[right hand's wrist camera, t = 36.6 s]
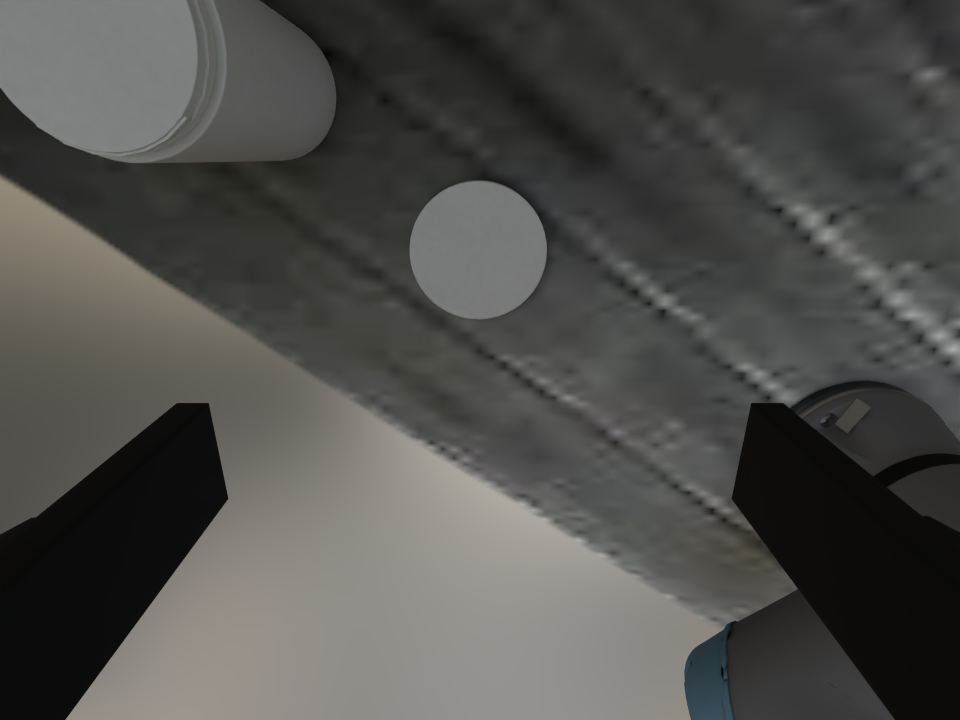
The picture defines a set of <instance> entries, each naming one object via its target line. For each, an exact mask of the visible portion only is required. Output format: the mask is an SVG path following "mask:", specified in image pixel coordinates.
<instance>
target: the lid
mask: <svg viewBox="0 0 960 720" xmlns="http://www.w3.org/2000/svg"><path fill="white" fill-rule="evenodd" d="M546 257H547V243H546V237H545V232H544V229H543V226H542V223H541V221H540V219H539V217H538V215H537V214H536V212H535V211H534V209H533V208H532V207H531V205H530V204H529V203H528V202H527V201H526V200H525V199H524V198H523V197H522V196H520V195H519V194H518V193H517V192H515V191H514V190H512V189H511V188H508V187H506V186H504V185H502V184H499V183H496V182H492V181H486V180H471V181H465V182H461V183H457V184H455V185H452V186H450V187H448V188H446V189H445V190H443V191H441V192H440V193H439V194H437V195H436V196H435V197H434V198H432V199H431V200H430V202H429V203H428V204H427V205H426V206H425V207H424V209H423V210H422V211H421V213H420V214H419V216H418V218H417V220H416V222H415V225H414V227H413V230H412V234H411V239H410V260H411V266H412V269H413V273H414V275H415V278H416V280H417V282H418V284H419V286H420V287H421V289H422V290H423V292H424V293H425V294H426V295H427V297H428V298H429V299H430V300H431V301H432V302H434V303H435V304H436V305H437V306H439V307H440V308H442V309H443V310H445V311H447V312H449V313H451V314H454V315H456V316H460V317H463V318H469V319H488V318H493V317H497V316H500V315H503V314H506V313H508V312H510V311H512V310H513V309H515V308H516V307H518V306H519V305H521V304H522V303H523V302H524V301H525V300H526V299H527V298H528V297H529V296H530V295H531V294H532V293H533V291H534V290H535V288H536V287H537V285H538V283H539V281H540V279H541V277H542V274H543V271H544V268H545V263H546Z"/></svg>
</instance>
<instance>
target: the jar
mask: <svg viewBox="0 0 960 720" xmlns="http://www.w3.org/2000/svg"><path fill="white" fill-rule="evenodd" d="M0 88H1V89H2V90H3V92H4V93H5V94H6V95H7V97H8V98H9V99H10V100H11V101H12V103H13V104H14V105H15V106H16V107H17V108H18V109H19V110H20V111H21V112H22V113H23V114H25V115H26V116H27V117H28V118H29V119H30V120H31V121H33V122H34V123H35V124H36V126H37V127H39V128H40V129H42V130H44V131H45V132H47V133H48V134H50V135H52V136H53V137H55V138H56V139H58V140H60V141H61V142H63V144H66V145H69V146H72V147H75V148H78V149H80V150H83V151H86V152H89V153H92V154H96V155H99V156H101V157H105V158H108V159H112V160H115V161H121V162H128V163H179V162H239V161H285V160H292V159H296V158H299V157H302V156H304V155H306V154H308V153H309V152H311V151H312V150H314V149H315V148H316V147H317V146H318V145H319V144H320V143H321V142H322V141H323V139H324V138H325V136H326V135H327V133H328V132H329V130H330V127H331V125H332V122H333V119H334V116H335V110H336V87H335V82H334V78H333V74H332V71H331V68H330V66H329V64H328V62H327V60H326V58H325V56H324V54H323V53H322V51H321V50H320V49H319V47H318V46H317V44H316V43H315V42H314V41H313V40H312V39H311V38H310V37H309V36H308V35H307V34H305V33H304V32H303V31H302V30H300V29H299V28H298V27H296V26H295V25H293V24H292V23H291V22H289V21H288V20H286V19H285V18H284V17H282V16H281V15H279V14H278V13H277V12H275V11H274V10H272V9H271V8H270V7H268V6H267V5H265V4H264V3H263V2H261V1H260V0H0Z"/></svg>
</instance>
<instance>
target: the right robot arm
mask: <svg viewBox="0 0 960 720" xmlns="http://www.w3.org/2000/svg"><path fill="white" fill-rule="evenodd" d="M227 500H228V495H227V490H226V485H225V480H224V476H223V471H222V466H221V461H220V456H219V451H218V447H217V442H216V437H215V432H214V427H213V422H212V417H211V412H210V408H209V403H177V404H175V405H174V406H173V407H172V408H170V409H169V410H168V411H167V412H166V413H164V414H163V415H162V416H161V417H159V418H158V419H157V420H156V421H154V422H153V423H152V424H151V425H149V426H148V427H147V428H146V429H145V430H143V431H142V432H141V433H140V434H138V435H137V436H136V437H135V438H133V439H132V440H131V441H130V442H129V443H127V444H126V445H125V446H124V447H122V448H121V449H120V450H119V451H117V452H116V453H115V454H114V455H112V456H111V457H110V458H109V459H108V460H106V461H105V462H104V463H103V464H101V465H100V466H99V467H98V468H96V469H95V470H94V471H93V472H91V473H90V474H89V475H88V476H87V477H85V478H84V479H83V480H82V481H80V482H79V483H78V484H77V485H76V486H74V487H73V488H72V489H71V490H69V491H68V492H67V493H66V494H64V495H63V496H62V497H61V498H59V499H58V500H57V501H56V502H54V503H53V504H52V505H51V506H50V507H48V508H47V509H46V510H45V511H43V512H42V513H41V514H40V515H38V516H37V517H36V518H30V519H28V520H27V521H25V522H23V523H21V524H19V525H17V526H15V527H14V528H12V529H10V530H8V531H6V532H4V533H2V534H0V720H65V719H66V718H67V717H68V715H69V714H70V713H71V711H72V710H73V709H74V707H75V706H76V705H77V703H78V702H79V700H80V699H81V698H82V696H83V695H84V694H85V692H86V691H87V690H88V688H89V687H90V685H91V684H92V683H93V681H94V680H95V679H96V677H97V676H98V675H99V673H100V672H101V671H102V669H103V668H104V667H105V665H106V664H107V662H108V661H109V660H110V658H111V657H112V656H113V654H114V653H115V652H116V650H117V649H118V648H119V646H120V645H121V643H122V642H123V641H124V639H125V638H126V637H127V635H128V634H129V633H130V631H131V630H132V629H133V627H134V626H135V624H136V623H137V622H138V620H139V619H140V618H141V616H142V615H143V614H144V612H145V611H146V610H147V608H148V607H149V606H150V604H151V603H152V601H153V600H154V599H155V597H156V596H157V595H158V593H159V592H160V591H161V589H162V588H163V587H164V585H165V584H166V583H167V581H168V580H169V578H170V577H171V576H172V574H173V573H174V572H175V570H176V569H177V568H178V566H179V565H180V563H181V562H182V561H183V559H184V558H185V557H186V555H187V554H188V553H189V551H190V550H191V549H192V547H193V546H194V545H195V543H196V542H197V540H198V539H199V538H200V536H201V535H202V534H203V532H204V531H205V530H206V528H207V527H208V526H209V524H210V523H211V521H212V520H213V519H214V517H215V516H216V515H217V513H218V512H219V511H220V509H221V508H222V507H223V505H224V504H225V503H226V501H227ZM732 500H733V501H734V503H735V504H736V505H737V507H738V508H739V509H740V511H741V512H742V513H743V515H744V516H745V517H746V519H747V520H748V521H749V523H750V524H751V526H752V527H753V528H754V530H755V531H756V532H757V534H758V535H759V536H760V538H761V539H762V540H763V542H764V543H765V545H766V546H767V547H768V549H769V550H770V551H771V553H772V554H773V555H774V557H775V558H776V559H777V561H778V562H779V564H780V565H781V566H782V568H783V569H784V570H785V572H786V573H787V574H788V576H789V577H790V578H791V580H792V581H793V583H794V584H795V585H796V587H797V588H798V590H796V591H794V592H793V593H791V594H789V595H787V596H785V597H783V598H782V599H780V600H778V601H776V602H774V603H772V604H771V605H769V606H767V607H765V608H763V609H761V610H759V611H758V612H756V613H754V614H752V615H750V616H748V617H746V618H744V619H742V620H740V621H738V622H737V621H733V622H731V623H729V624H727V625H726V627H725V628H724V630H722V631H721V632H719V633H718V634H716V635H715V636H713V637H712V638H710V639H708V640H707V641H705V642H704V643H702V644H700V645H699V646H697V647H696V648H695V649H694V650H693V651H692V652H691V653H690V655H689V656H688V659H687V661H686V666H685V672H684V673H685V683H684V685H685V694H686V699H687V705H688V709H689V713H690V717H691V720H960V442H959V440H958V439H957V438H956V437H955V435H954V434H953V433H952V432H951V431H950V429H949V428H948V427H947V426H946V425H945V423H944V422H943V420H942V419H941V418H940V416H939V415H938V414H937V413H936V412H935V411H934V410H933V409H932V408H931V407H930V406H929V405H928V404H926V403H925V402H924V401H922V400H920V399H919V398H917V397H915V396H913V395H911V394H909V393H908V392H906V391H904V390H902V389H900V388H898V387H895V386H893V385H889V384H885V383H880V382H870V381H863V382H850V383H845V384H840V385H837V386H833V387H830V388H827V389H824V390H822V391H820V392H817V393H815V394H813V395H811V396H810V397H808V398H806V399H804V400H803V401H801V402H800V403H798V404H797V405H796V406H794V407H793V408H792V409H790V408H788V407H787V406H786V405H785V404H783V403H751V407H750V412H749V417H748V422H747V427H746V432H745V437H744V442H743V446H742V451H741V456H740V461H739V466H738V471H737V476H736V480H735V485H734V490H733V495H732Z"/></svg>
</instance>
